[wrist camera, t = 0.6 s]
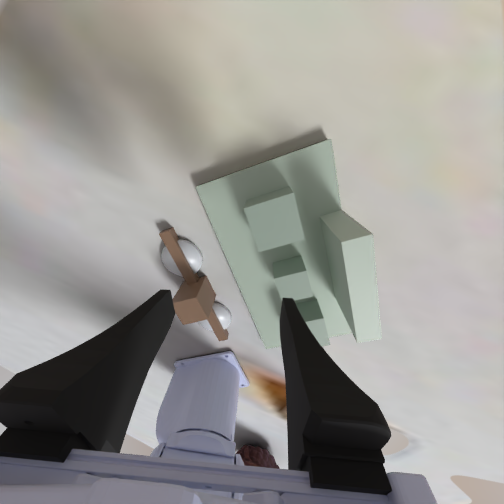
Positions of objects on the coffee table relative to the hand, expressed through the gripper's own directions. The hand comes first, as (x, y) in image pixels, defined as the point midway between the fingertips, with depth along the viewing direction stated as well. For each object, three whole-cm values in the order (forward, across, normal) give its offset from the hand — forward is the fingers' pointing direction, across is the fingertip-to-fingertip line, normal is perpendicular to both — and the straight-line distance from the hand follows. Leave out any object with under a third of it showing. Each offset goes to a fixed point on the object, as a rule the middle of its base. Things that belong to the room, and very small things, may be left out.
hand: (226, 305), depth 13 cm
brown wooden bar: (+9, +5, +7) cm, 13 cm away
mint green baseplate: (+10, -5, +3) cm, 11 cm away
